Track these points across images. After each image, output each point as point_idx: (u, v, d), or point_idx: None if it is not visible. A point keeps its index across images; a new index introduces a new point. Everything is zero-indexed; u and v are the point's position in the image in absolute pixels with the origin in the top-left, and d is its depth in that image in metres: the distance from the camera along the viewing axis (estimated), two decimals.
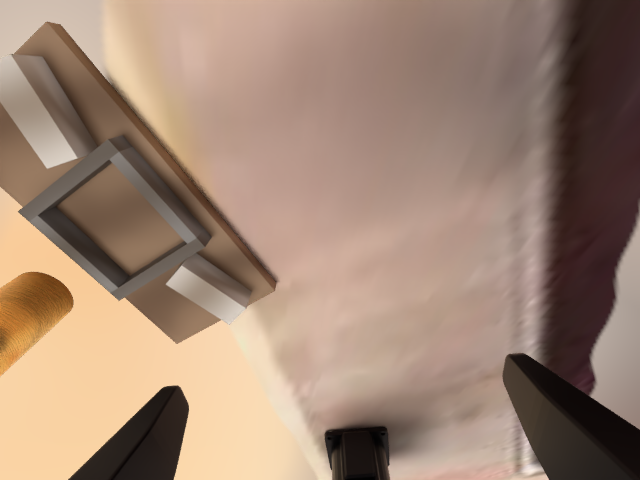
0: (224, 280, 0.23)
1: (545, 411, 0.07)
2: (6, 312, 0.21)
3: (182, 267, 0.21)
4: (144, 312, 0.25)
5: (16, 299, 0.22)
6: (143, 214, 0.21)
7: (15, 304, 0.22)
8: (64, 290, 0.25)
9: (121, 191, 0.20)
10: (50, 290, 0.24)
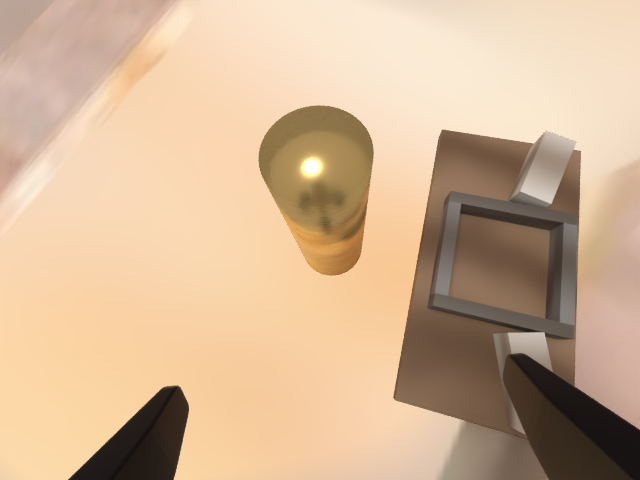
0: None
1: (545, 411, 0.07)
2: None
3: (542, 334, 0.18)
4: (409, 338, 0.21)
5: None
6: (516, 273, 0.21)
7: None
8: (358, 258, 0.23)
9: (518, 246, 0.22)
10: None
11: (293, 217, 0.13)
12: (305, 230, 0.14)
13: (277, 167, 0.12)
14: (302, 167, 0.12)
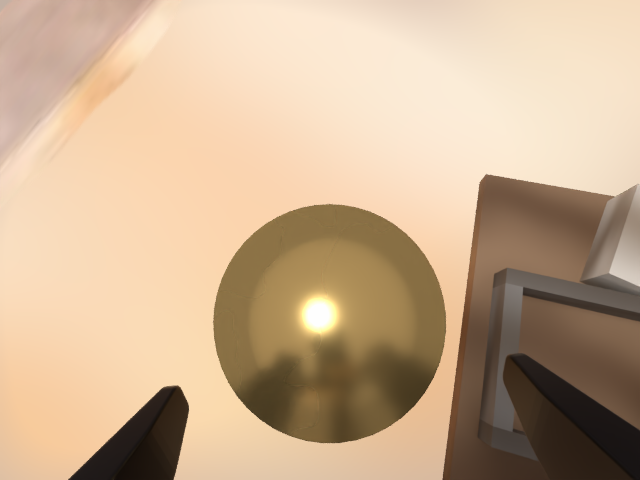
0: None
1: (545, 411, 0.07)
2: None
3: None
4: None
5: None
6: (602, 386, 0.15)
7: None
8: None
9: (601, 345, 0.16)
10: None
11: None
12: None
13: (250, 341, 0.06)
14: (301, 343, 0.06)
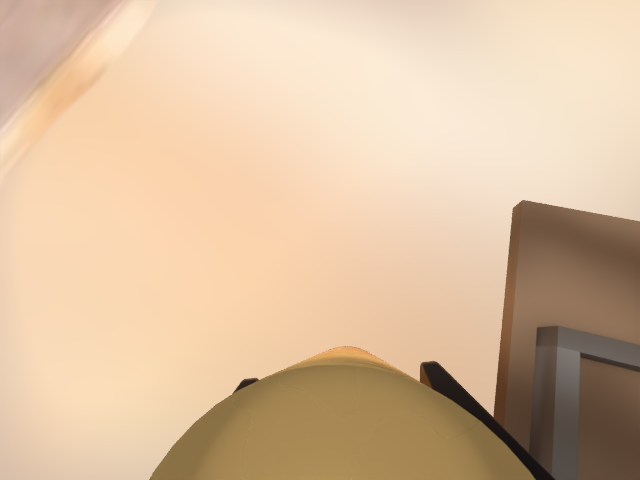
0: None
1: None
2: None
3: None
4: None
5: None
6: None
7: None
8: None
9: None
10: None
11: None
12: None
13: None
14: None
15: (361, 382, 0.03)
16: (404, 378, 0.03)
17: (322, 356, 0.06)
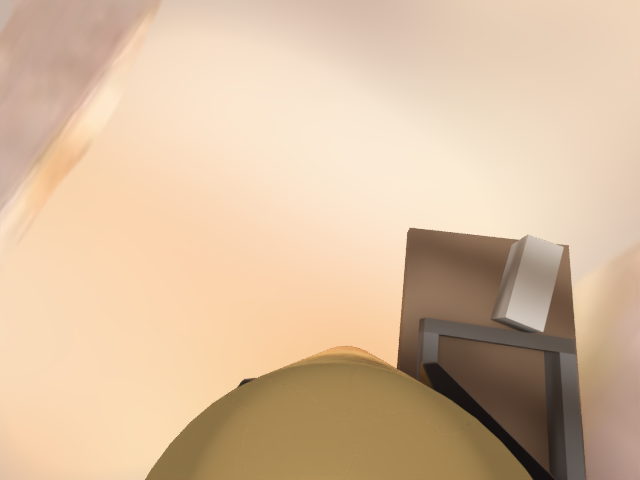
0: None
1: None
2: None
3: None
4: None
5: None
6: (510, 410, 0.18)
7: None
8: None
9: (509, 374, 0.19)
10: None
11: None
12: None
13: None
14: None
15: (357, 380, 0.03)
16: (400, 376, 0.03)
17: (320, 355, 0.06)
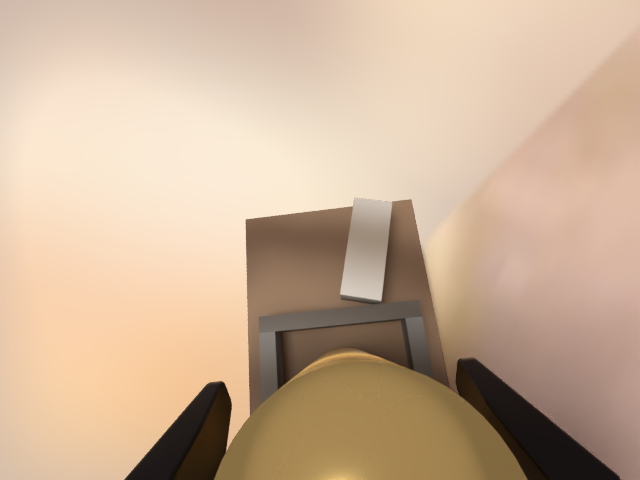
0: None
1: (486, 416, 0.07)
2: None
3: None
4: None
5: None
6: None
7: None
8: None
9: None
10: None
11: None
12: None
13: None
14: None
15: (382, 374, 0.05)
16: (412, 371, 0.05)
17: (339, 356, 0.07)
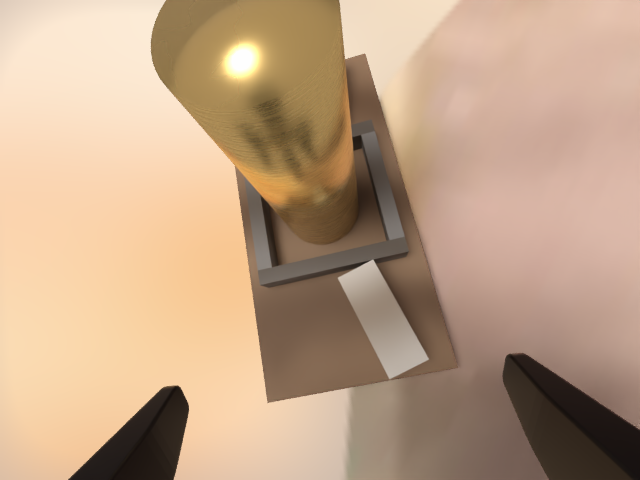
0: None
1: (545, 411, 0.07)
2: None
3: (372, 262, 0.16)
4: (260, 329, 0.18)
5: None
6: None
7: None
8: (355, 219, 0.18)
9: None
10: (357, 204, 0.18)
11: (230, 147, 0.08)
12: (259, 171, 0.09)
13: (181, 56, 0.07)
14: (222, 49, 0.07)
15: None
16: None
17: None
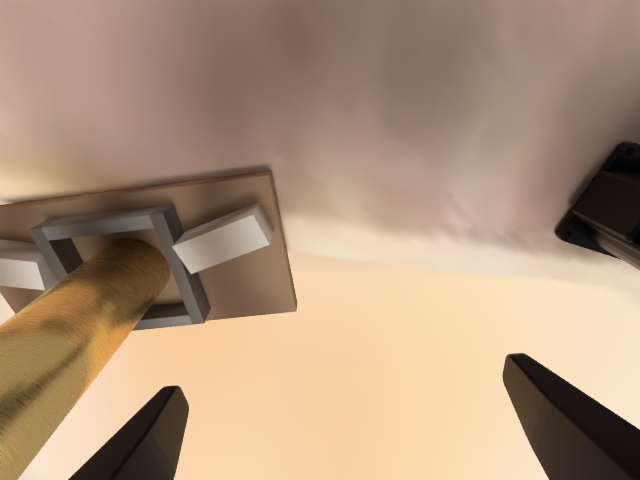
0: (223, 219, 0.19)
1: (545, 411, 0.07)
2: (78, 272, 0.16)
3: (174, 247, 0.18)
4: (243, 314, 0.23)
5: (87, 262, 0.17)
6: None
7: (87, 265, 0.17)
8: (141, 243, 0.20)
9: None
10: (123, 246, 0.19)
11: (45, 440, 0.12)
12: (69, 403, 0.13)
13: None
14: None
15: None
16: None
17: None
